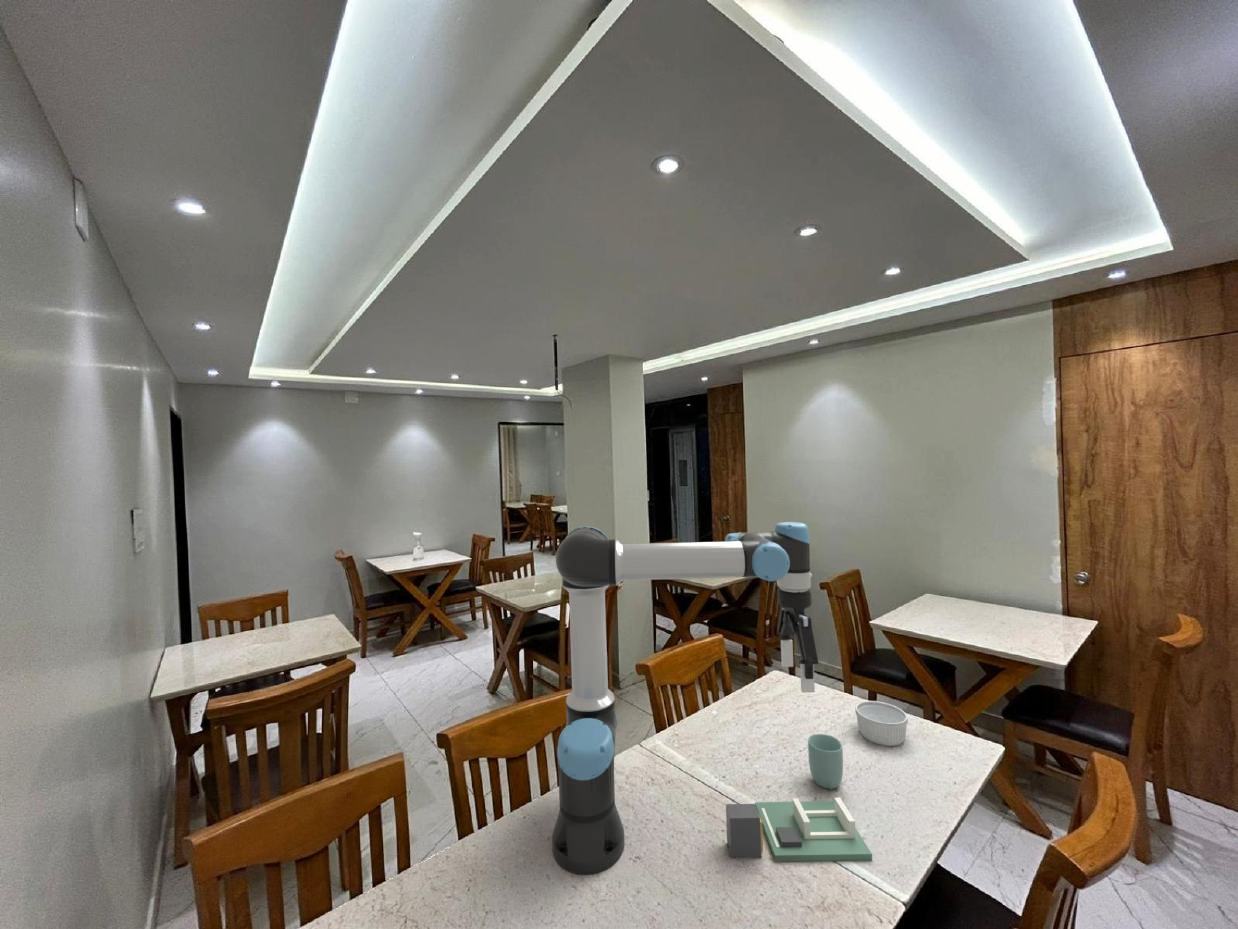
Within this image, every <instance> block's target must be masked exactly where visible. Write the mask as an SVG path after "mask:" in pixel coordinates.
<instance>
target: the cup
mask: <svg viewBox="0 0 1238 929" xmlns="http://www.w3.org/2000/svg"><path fill="white" fill-rule="evenodd" d="M807 751H808V755H807V756H808V765H809V771H810V775H811V778H812V779H813V781H814V783H815V784H816V785H818V786H819V787H821V788H824V789H827V790H828V789H829V790H833V789H837V788H838V787H839V786H840V785H841V783H842V781H843V775H844V754H843V753H844V752H843V744H842V742H841V741H840V740H839V739H838V738H837V737H834V736H832V735H830V734H829V735H828V734H824V733H814V734H811V735H809V737H808V739H807Z"/></svg>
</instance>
